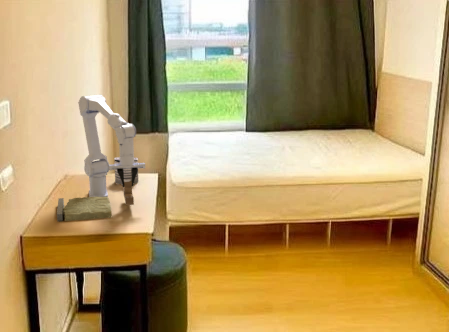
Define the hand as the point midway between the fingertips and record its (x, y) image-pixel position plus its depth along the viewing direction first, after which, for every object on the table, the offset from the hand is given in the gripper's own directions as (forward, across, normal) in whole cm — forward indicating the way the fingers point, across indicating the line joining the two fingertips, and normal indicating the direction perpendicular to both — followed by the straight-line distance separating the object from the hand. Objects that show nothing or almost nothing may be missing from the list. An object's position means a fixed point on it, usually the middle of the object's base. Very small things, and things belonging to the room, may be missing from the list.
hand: (128, 185), depth 230 cm
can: (+9, +2, +37) cm, 38 cm away
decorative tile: (+10, -17, -2) cm, 20 cm away
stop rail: (+9, -27, -2) cm, 29 cm away
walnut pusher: (+6, 0, 0) cm, 6 cm away
